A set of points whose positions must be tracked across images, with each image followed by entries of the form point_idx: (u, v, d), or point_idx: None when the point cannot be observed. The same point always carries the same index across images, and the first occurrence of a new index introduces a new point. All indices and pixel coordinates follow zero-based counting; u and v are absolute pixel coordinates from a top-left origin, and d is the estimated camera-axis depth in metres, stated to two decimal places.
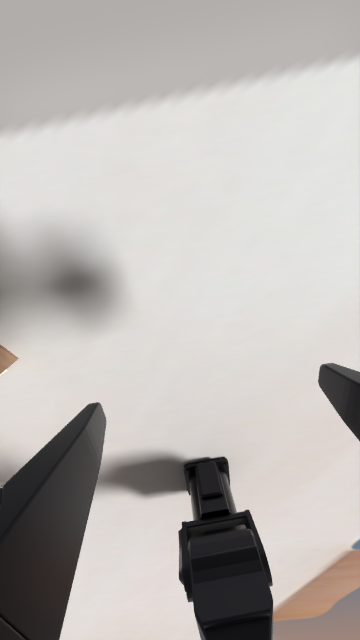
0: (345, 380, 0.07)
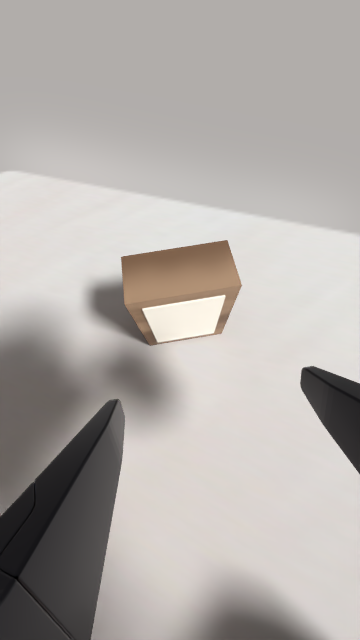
0: (323, 384, 0.07)
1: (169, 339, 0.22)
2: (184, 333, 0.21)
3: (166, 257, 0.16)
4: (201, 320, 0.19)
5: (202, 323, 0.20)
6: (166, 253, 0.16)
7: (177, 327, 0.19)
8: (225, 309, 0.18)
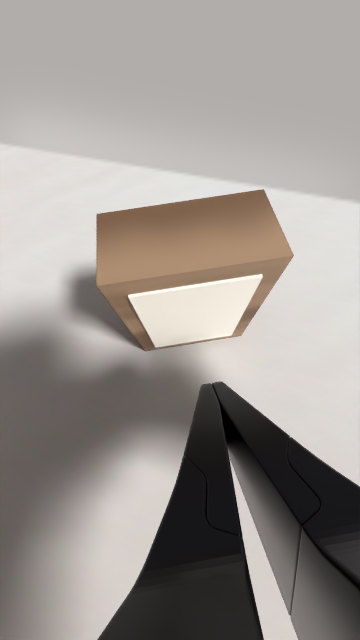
0: (219, 402, 0.07)
1: (171, 343, 0.16)
2: (192, 335, 0.15)
3: (167, 214, 0.10)
4: (217, 317, 0.13)
5: (218, 321, 0.14)
6: (168, 208, 0.10)
7: (182, 326, 0.14)
8: (255, 299, 0.12)
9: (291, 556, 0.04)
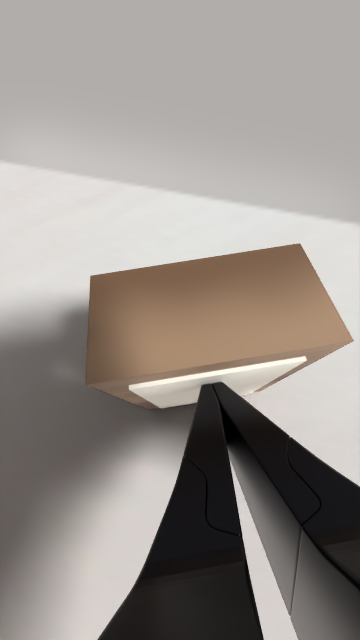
0: (219, 401, 0.07)
1: (180, 404, 0.14)
2: None
3: (180, 277, 0.08)
4: (239, 387, 0.11)
5: (238, 389, 0.11)
6: (180, 269, 0.08)
7: (195, 396, 0.11)
8: (288, 371, 0.10)
9: (291, 556, 0.04)
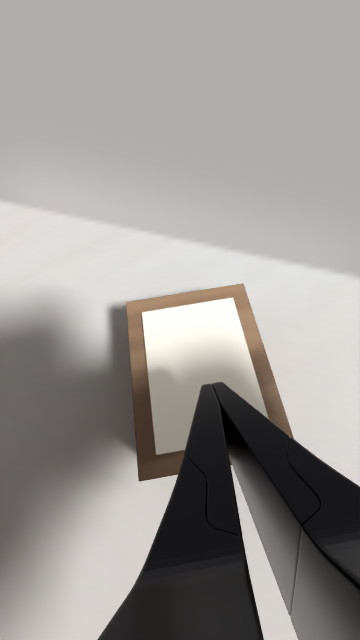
0: (219, 401, 0.07)
1: (179, 440, 0.11)
2: None
3: None
4: (223, 359, 0.12)
5: (228, 371, 0.12)
6: None
7: (187, 376, 0.12)
8: (249, 333, 0.13)
9: (291, 556, 0.04)
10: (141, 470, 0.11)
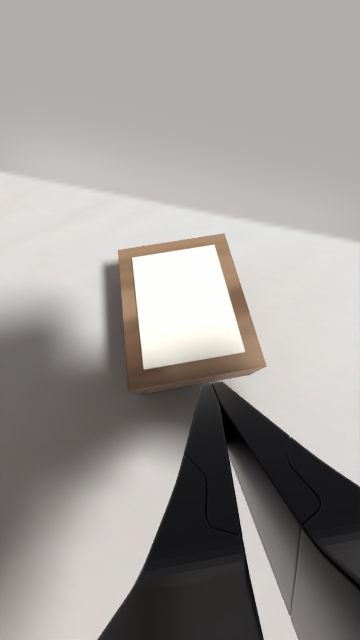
0: (219, 401, 0.07)
1: (164, 357, 0.13)
2: (188, 336, 0.13)
3: None
4: (204, 294, 0.14)
5: (208, 303, 0.14)
6: None
7: (172, 308, 0.14)
8: (228, 274, 0.15)
9: (291, 556, 0.04)
10: (130, 382, 0.12)
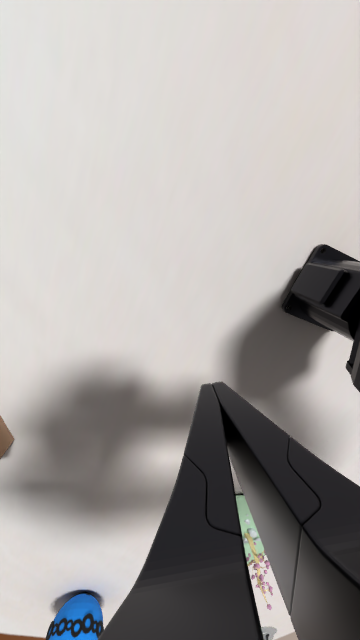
0: (219, 402, 0.07)
1: None
2: None
3: None
4: None
5: None
6: None
7: None
8: None
9: (291, 556, 0.04)
10: None
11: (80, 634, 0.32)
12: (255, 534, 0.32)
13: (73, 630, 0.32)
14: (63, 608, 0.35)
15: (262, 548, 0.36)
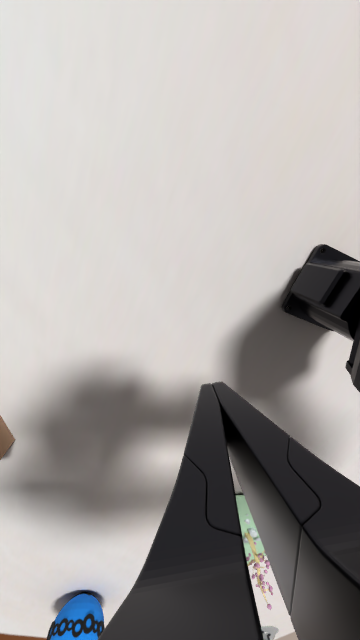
0: (219, 401, 0.07)
1: None
2: None
3: None
4: None
5: None
6: None
7: None
8: None
9: (291, 556, 0.04)
10: None
11: (81, 634, 0.32)
12: (255, 534, 0.32)
13: (74, 630, 0.32)
14: (64, 608, 0.35)
15: (263, 548, 0.36)
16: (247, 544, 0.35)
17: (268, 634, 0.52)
